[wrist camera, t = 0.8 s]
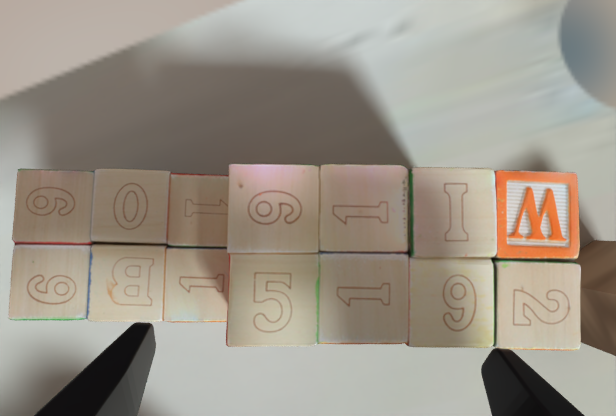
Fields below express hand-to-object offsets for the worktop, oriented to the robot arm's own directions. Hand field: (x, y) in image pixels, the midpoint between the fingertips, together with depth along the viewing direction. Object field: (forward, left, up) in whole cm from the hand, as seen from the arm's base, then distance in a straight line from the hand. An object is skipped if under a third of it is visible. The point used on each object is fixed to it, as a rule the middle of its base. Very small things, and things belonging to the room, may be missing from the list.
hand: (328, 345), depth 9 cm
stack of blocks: (+3, 0, -15) cm, 15 cm away
